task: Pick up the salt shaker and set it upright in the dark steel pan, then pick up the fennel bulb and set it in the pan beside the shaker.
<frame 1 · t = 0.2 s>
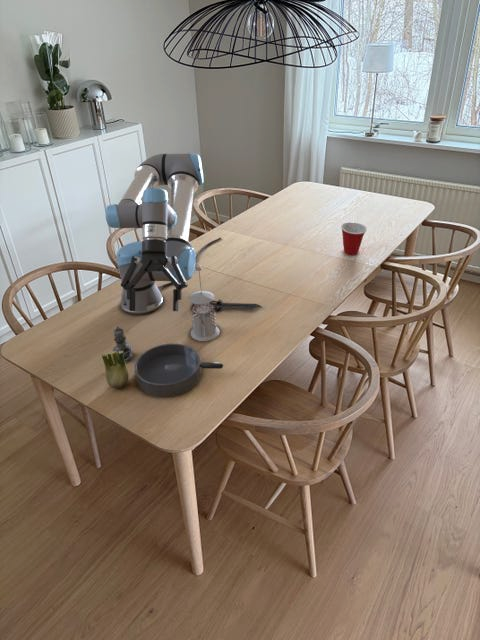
hand: (153, 311, 142), 15 cm above the table, tool tilted 35°, fingers open, 13 cm apart
french press: (205, 334, 158), on the table
fennel bulb: (119, 385, 138), on the table
salt shaker: (124, 358, 149), on the table
pan: (169, 374, 141), on the table
plastic cup: (351, 253, 204), on the table
knife: (227, 307, 171), on the table
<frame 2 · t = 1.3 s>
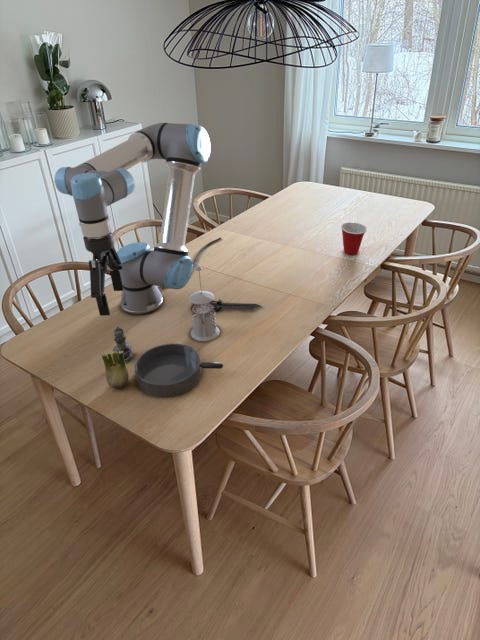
hand: (112, 302, 137), 21 cm above the table, tool pointing down, fingers open, 13 cm apart
nothing on the table moved.
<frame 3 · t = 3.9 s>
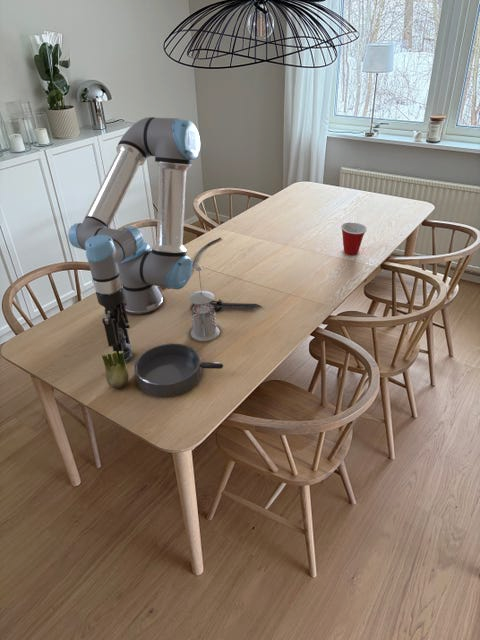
hand: (123, 352, 148), 2 cm above the table, tool pointing down, fingers closed on salt shaker, 6 cm apart
salt shaker: (124, 358, 149), on the table, touching gripper
everything else where it was.
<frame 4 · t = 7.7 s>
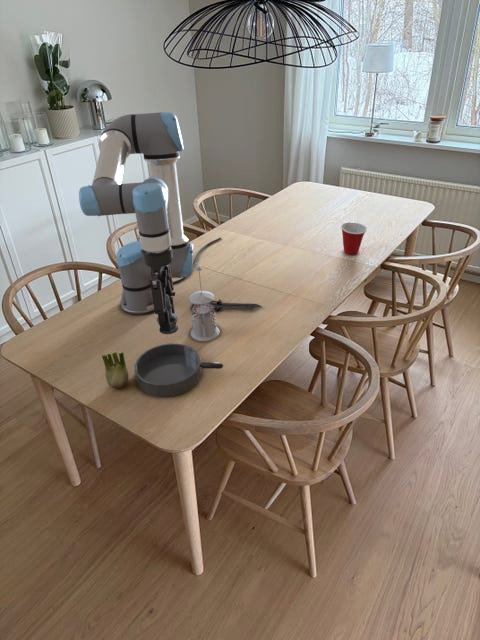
hand: (168, 323, 131), 18 cm above the table, tool pointing down, fingers closed on salt shaker, 6 cm apart
salt shaker: (168, 329, 132), point 16 cm above the table, touching gripper
everything else where it was.
when the fingers open (2 cm above the table, at t = 11.6 s): salt shaker stays where it is, resting on pan.
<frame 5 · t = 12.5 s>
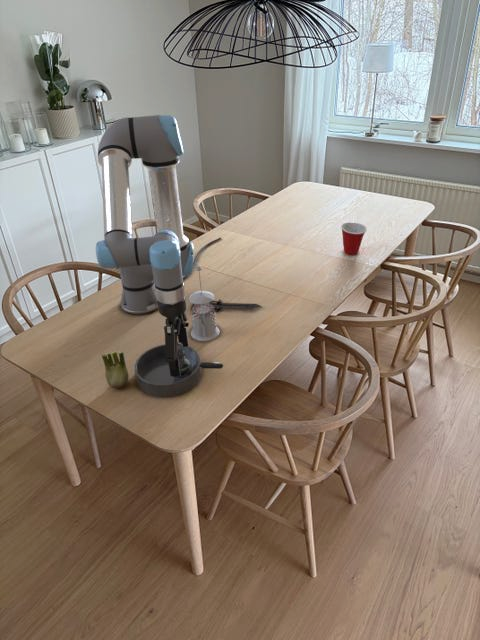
hand: (179, 360, 138), 5 cm above the table, tool pointing down, fingers open, 13 cm apart
salt shaker: (181, 373, 140), resting on pan
everything else where it was.
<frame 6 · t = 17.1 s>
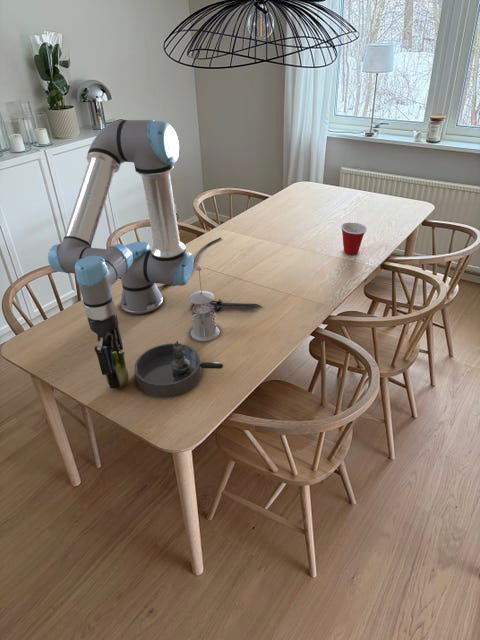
hand: (118, 380, 137), 2 cm above the table, tool pointing down, fingers closed on fennel bulb, 5 cm apart
fennel bulb: (119, 385, 138), on the table, touching gripper
everything else where it was.
when the fingers open (2 cm above the table, at t = 23.9 s): fennel bulb stays where it is, resting on pan.
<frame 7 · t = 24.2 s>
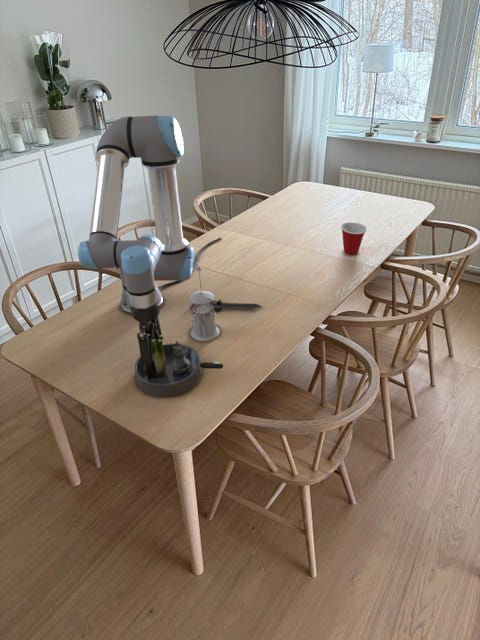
hand: (155, 368, 140), 3 cm above the table, tool pointing down, fingers open, 8 cm apart
fennel bulb: (156, 373, 141), resting on pan
everything else where it was.
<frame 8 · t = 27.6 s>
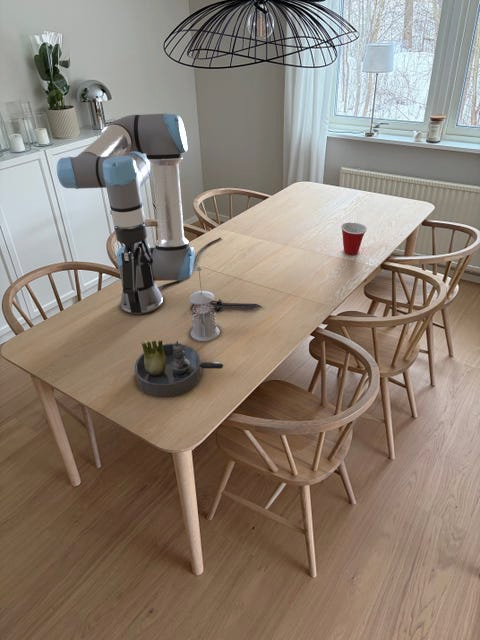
hand: (143, 298, 126), 27 cm above the table, tool pointing down, fingers open, 13 cm apart
nothing on the table moved.
at the end: salt shaker inside the target area in the pan (3.8 cm from its centre), point 0.4 cm above the pan's base; salt shaker tilted 0°; fennel bulb inside the target area in the pan (3.8 cm from its centre), point 0.4 cm above the pan's base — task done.
